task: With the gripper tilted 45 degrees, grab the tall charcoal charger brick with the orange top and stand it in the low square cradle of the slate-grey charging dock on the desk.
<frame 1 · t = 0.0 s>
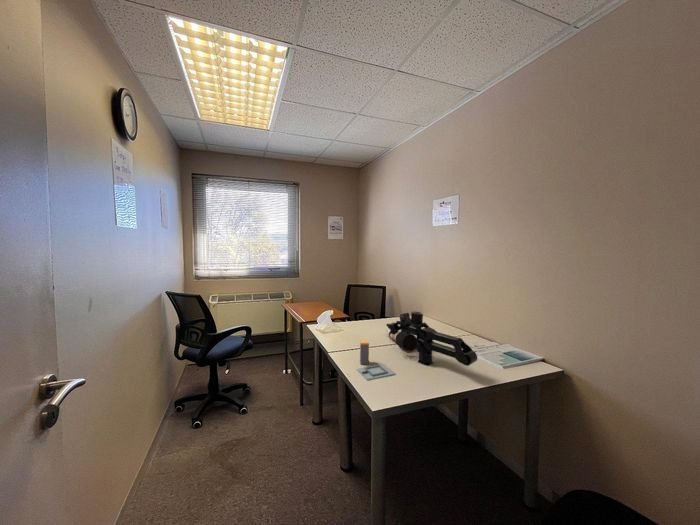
hand: (391, 323, 171), 17 cm above the table, tool horizontal, fingers open, 9 cm apart
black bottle: (398, 343, 183), on the table
charging dock: (375, 372, 141), on the table
charger brick: (364, 362, 152), on the table
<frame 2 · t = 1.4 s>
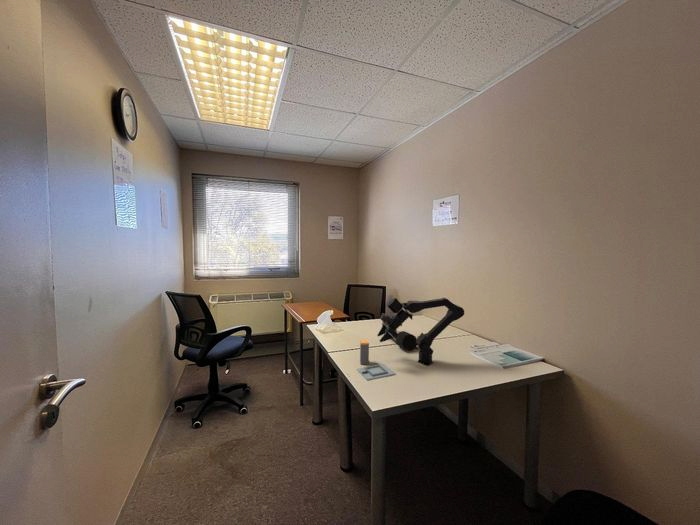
hand: (378, 338, 151), 14 cm above the table, tool tilted 45°, fingers open, 9 cm apart
nothing on the table moved.
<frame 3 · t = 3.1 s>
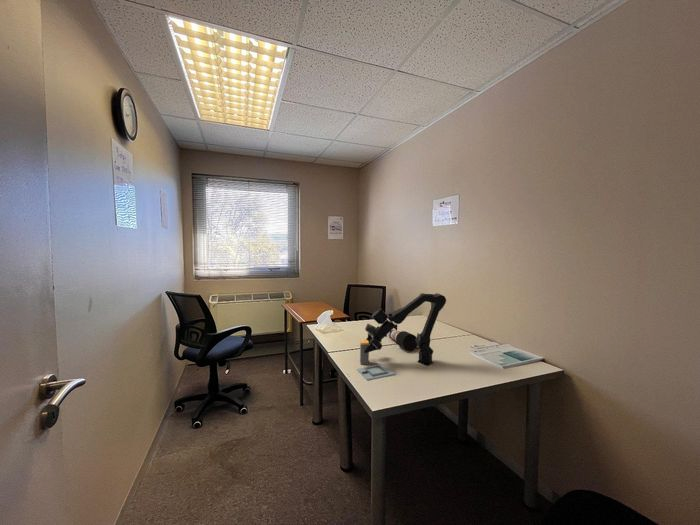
hand: (363, 349, 151), 8 cm above the table, tool tilted 45°, fingers open, 9 cm apart
nothing on the table moved.
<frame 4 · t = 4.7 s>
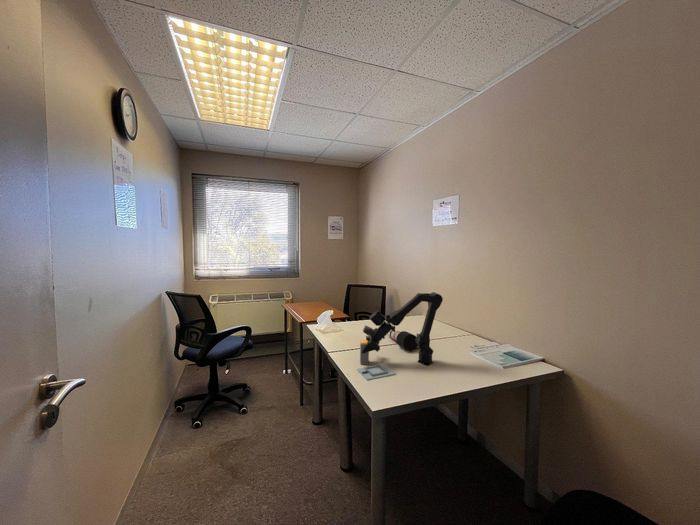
hand: (361, 351, 151), 7 cm above the table, tool tilted 45°, fingers closed on charger brick, 4 cm apart
charger brick: (364, 362, 152), on the table, touching gripper
everything else where it was.
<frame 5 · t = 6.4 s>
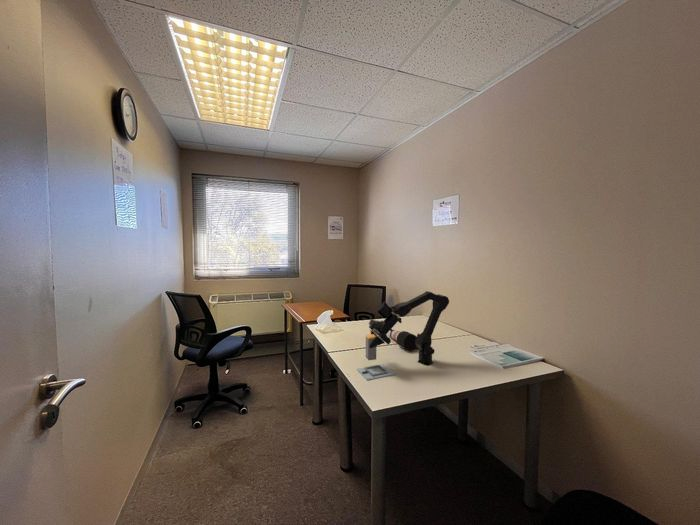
hand: (368, 346, 143), 12 cm above the table, tool tilted 45°, fingers closed on charger brick, 4 cm apart
charger brick: (370, 358, 144), point 6 cm above the table, touching gripper
everything else where it was.
when the fingers open (9 cm above the table, at t = 8.4 s): charger brick drops 1 cm, resting on charging dock.
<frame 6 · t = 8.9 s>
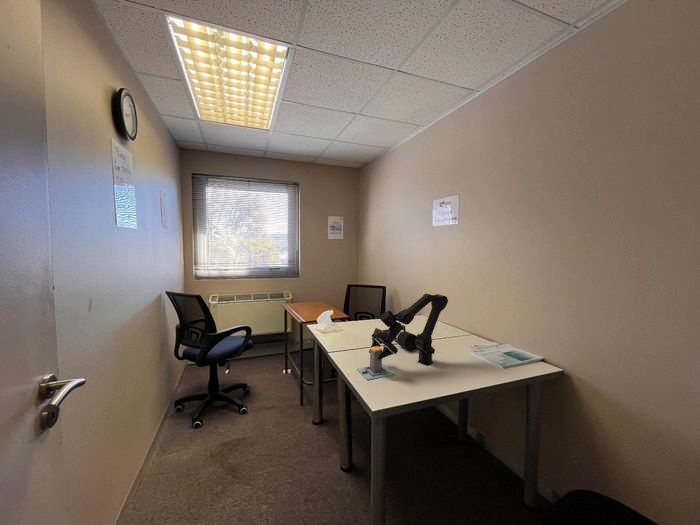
hand: (373, 356, 139), 9 cm above the table, tool tilted 45°, fingers open, 9 cm apart
charger brick: (375, 371, 140), point 1 cm above the table, touching charging dock
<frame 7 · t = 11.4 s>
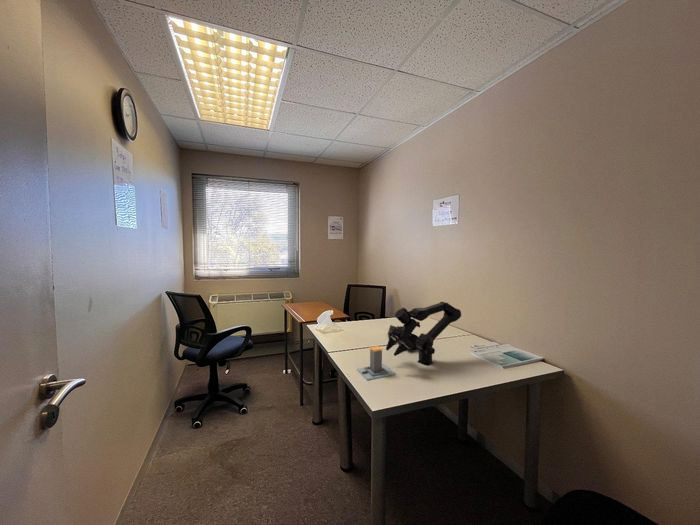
hand: (390, 352, 143), 9 cm above the table, tool tilted 40°, fingers open, 9 cm apart
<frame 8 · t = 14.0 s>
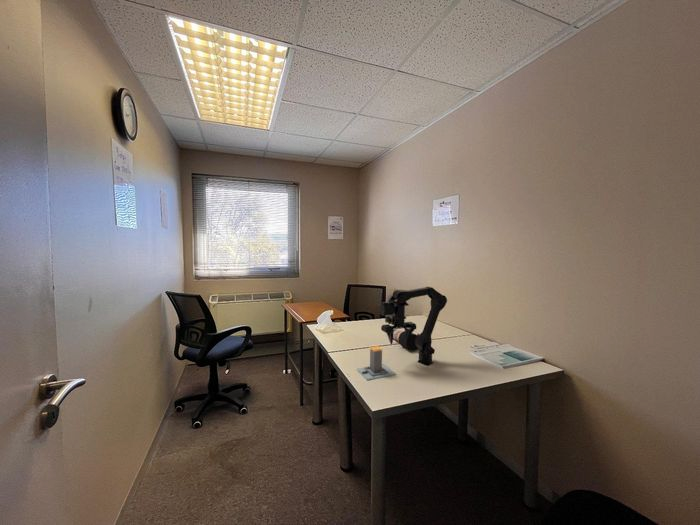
hand: (398, 342, 146), 13 cm above the table, tool pointing down, fingers open, 9 cm apart
at the end: charger brick 0.0 cm off-centre on the charging dock, point 0.6 cm above the charging dock's base; charger brick tilted 0°; the gripper is holding nothing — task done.
